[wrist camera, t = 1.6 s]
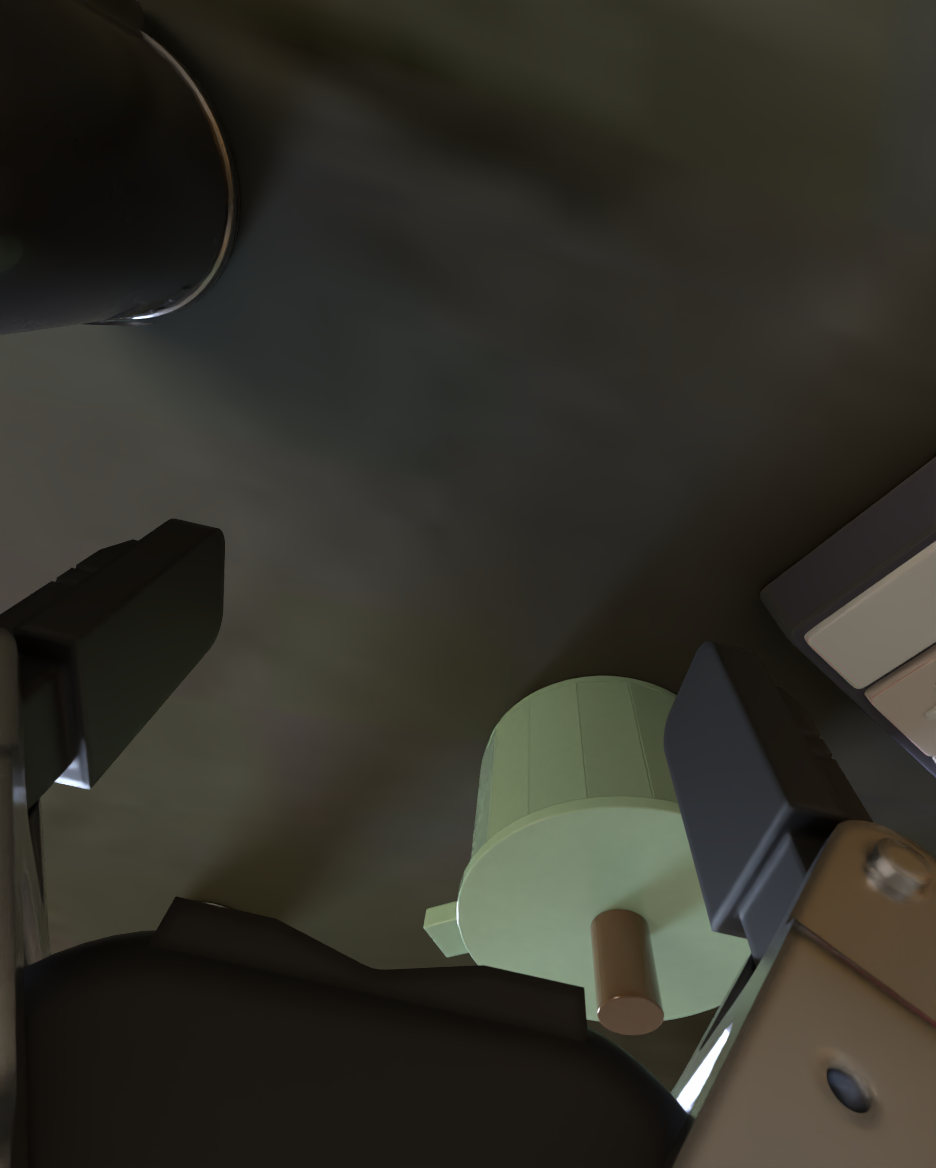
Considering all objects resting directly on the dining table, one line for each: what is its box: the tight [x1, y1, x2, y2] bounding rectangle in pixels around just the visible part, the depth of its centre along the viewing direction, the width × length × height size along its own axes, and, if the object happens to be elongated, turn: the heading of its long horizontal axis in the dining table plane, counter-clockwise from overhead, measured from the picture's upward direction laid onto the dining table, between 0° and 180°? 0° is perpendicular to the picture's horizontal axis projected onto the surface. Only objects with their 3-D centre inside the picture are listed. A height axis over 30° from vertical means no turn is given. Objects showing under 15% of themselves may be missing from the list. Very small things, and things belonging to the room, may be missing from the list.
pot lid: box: [457, 796, 751, 1035], centre depth 25 cm, size 14×14×5 cm
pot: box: [424, 676, 678, 957], centre depth 31 cm, size 13×18×8 cm
